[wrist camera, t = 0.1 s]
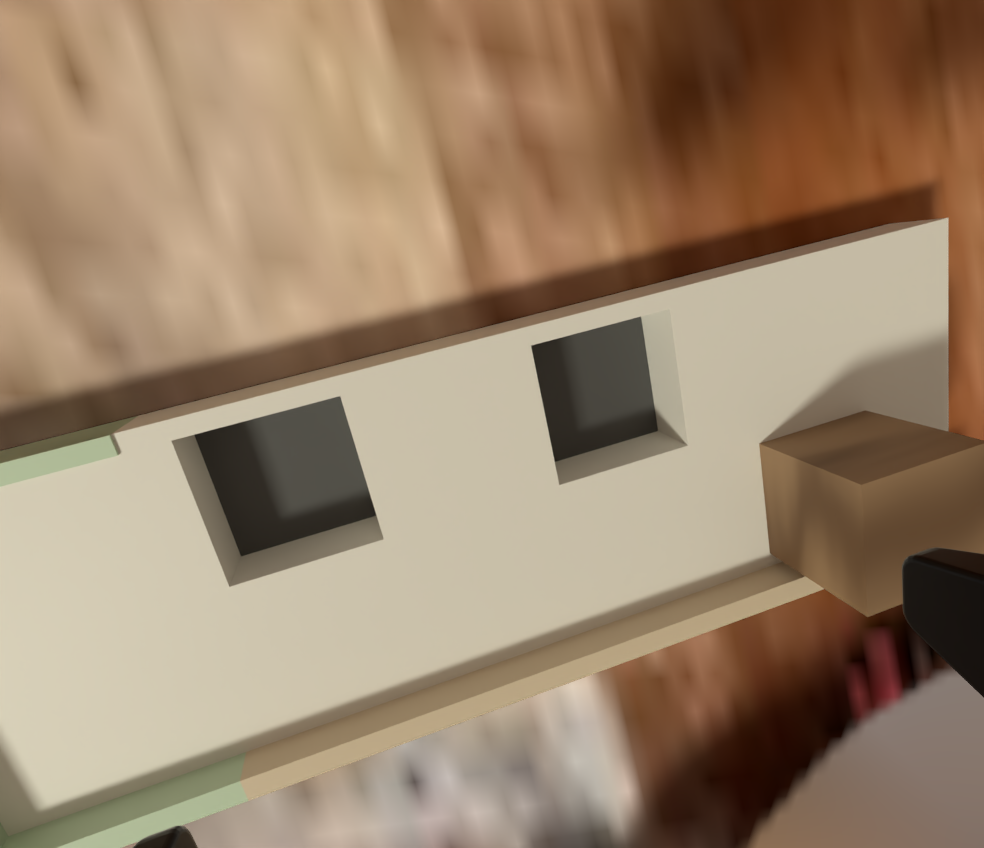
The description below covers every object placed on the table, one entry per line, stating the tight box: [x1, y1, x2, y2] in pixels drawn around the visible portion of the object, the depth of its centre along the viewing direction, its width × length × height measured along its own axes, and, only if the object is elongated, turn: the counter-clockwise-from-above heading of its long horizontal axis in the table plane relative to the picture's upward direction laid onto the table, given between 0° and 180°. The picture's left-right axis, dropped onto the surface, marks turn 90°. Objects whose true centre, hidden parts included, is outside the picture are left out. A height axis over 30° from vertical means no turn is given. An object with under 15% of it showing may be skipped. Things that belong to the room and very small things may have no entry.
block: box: [759, 410, 984, 617], centre depth 20 cm, size 4×4×4 cm
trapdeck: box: [0, 218, 948, 848], centre depth 20 cm, size 12×36×4 cm, turn 103°
